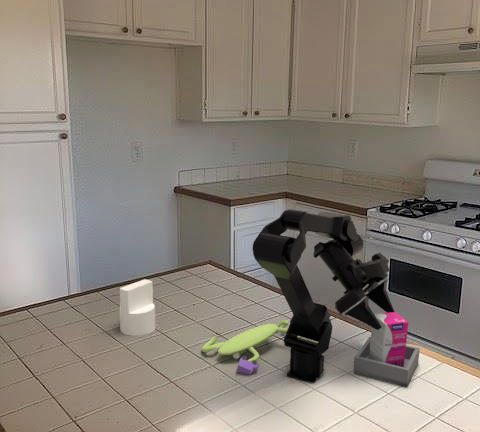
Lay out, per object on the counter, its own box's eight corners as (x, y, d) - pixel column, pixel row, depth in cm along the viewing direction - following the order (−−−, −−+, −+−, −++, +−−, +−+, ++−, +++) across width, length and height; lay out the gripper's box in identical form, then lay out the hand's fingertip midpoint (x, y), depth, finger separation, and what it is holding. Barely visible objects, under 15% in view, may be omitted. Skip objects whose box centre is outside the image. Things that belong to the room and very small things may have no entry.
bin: (353, 373, 120) (354, 357, 119) (368, 352, 129) (369, 336, 129) (407, 387, 114) (408, 370, 113) (418, 364, 124) (419, 348, 123)
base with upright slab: (136, 339, 135) (135, 293, 133) (113, 329, 141) (110, 285, 138) (162, 327, 142) (161, 283, 140) (139, 318, 148) (137, 276, 145)
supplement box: (381, 372, 118) (385, 324, 115) (368, 360, 124) (371, 313, 121) (404, 369, 119) (409, 321, 117) (390, 357, 125) (394, 310, 122)
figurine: (330, 360, 126) (332, 337, 125) (225, 384, 115) (225, 360, 114) (291, 329, 143) (291, 309, 142) (195, 347, 132) (195, 326, 131)
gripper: (351, 255, 111) (401, 317, 107) (381, 235, 126) (426, 289, 123) (315, 284, 117) (361, 344, 113) (348, 261, 132) (389, 313, 129)
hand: (386, 321), depth 119 cm, fingers open, 9 cm apart
